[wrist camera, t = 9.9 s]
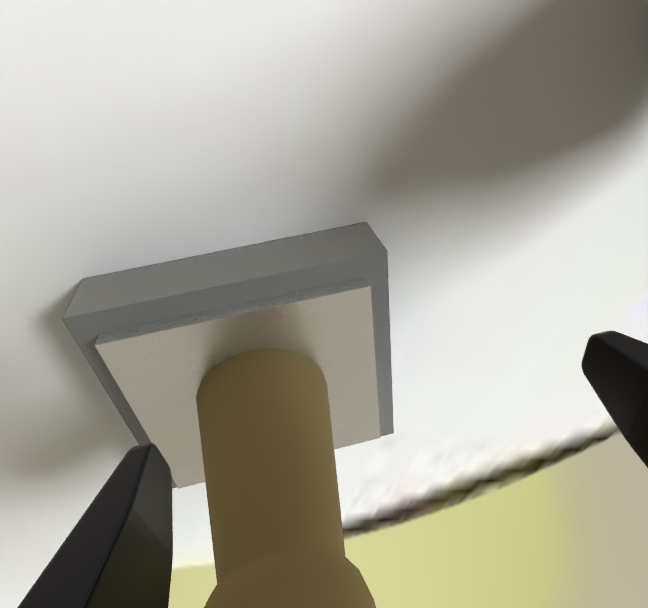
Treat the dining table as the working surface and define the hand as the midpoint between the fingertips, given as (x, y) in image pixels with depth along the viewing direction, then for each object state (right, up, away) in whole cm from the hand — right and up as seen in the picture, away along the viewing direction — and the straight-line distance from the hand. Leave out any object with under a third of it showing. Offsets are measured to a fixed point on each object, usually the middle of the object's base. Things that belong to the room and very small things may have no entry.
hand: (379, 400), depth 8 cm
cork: (-4, -2, +11) cm, 12 cm away
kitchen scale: (-5, 0, +14) cm, 15 cm away
